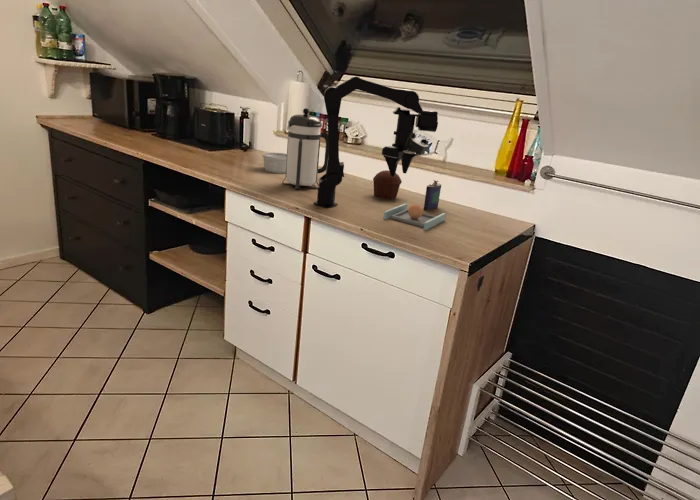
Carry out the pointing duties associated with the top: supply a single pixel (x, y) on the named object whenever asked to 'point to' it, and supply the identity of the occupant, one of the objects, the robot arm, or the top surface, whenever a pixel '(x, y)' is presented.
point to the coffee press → (304, 150)
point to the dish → (405, 218)
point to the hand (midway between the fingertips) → (398, 174)
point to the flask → (432, 196)
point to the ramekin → (275, 162)
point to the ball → (415, 211)
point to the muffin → (386, 185)
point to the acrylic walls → (427, 224)
